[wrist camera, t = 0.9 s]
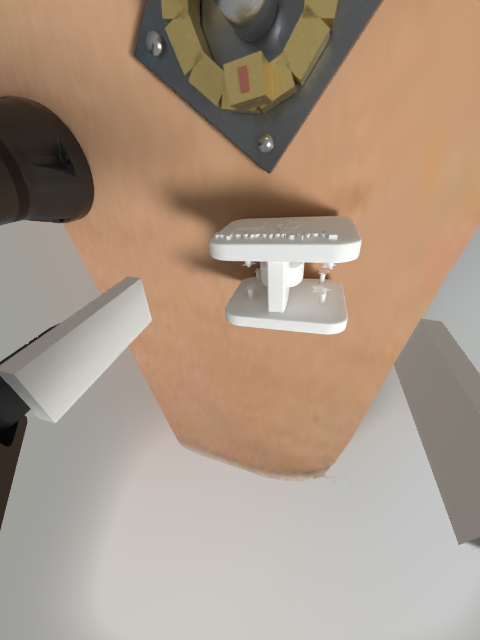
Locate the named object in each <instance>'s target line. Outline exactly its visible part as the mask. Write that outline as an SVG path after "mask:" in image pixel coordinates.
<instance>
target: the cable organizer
mask: <svg viewBox="0 0 480 640" xmlns="http://www.w3.org/2000/svg"><path fill="white" fill-rule="evenodd" d="M361 242H362V238H361V236H360V234H359V232H358V230H357V228H356V225H355V223H354V221H353V219H351V218H348V217H342V216H317V217H284V218H252V219H240V220H236V221H233V222H231V223H229V224H228V225H227V226H226V227H224V228H223V229H222V230H221V231H219V232H216V233H215V234H214V236H213V237H212V238H211V239H209V241H208V243H209V249H210V255H211V257H212V258H214V259H217V260H223V261H245V264H243V265H242V266H245V265H247V266H248V267H250V266H251V265H253V264H257V263H254V262H253V261H260V268H259V269H258V268H255V269H256V271H254V272H256V277H249V278H246V279H244V280H242V281H241V283H240V284H239V286H238V288H237V289H236V291H235V293H234V294H233V296H232V298H231V299H230V301H229V303H228V304H227V306H226V308H225V313H226V319H227V321H228V322H229V323H231V324H233V325H237V326H246V327H256V328H266V329H277V330H287V331H297V332H308V333H318V334H337V333H340V332H342V331H344V329H345V328H346V324H347V319H348V315H347V309H346V303H345V297H344V291H343V285H342V284H341V283H339V282H337V281H334V280H329V279H325V275H327V273H329V272H330V271H327V270H326V267H328V268H330V269H331V270H332V269H333V266H338V265H335V264H334V263H342V262H348V261H352V260H355V259H357V258H358V256H359V251H360V247H361ZM304 262H310V263H323V264H324V266H323V267H322V268H325V269H323V270H320V269H318V270H319V271H320V272H319V273H318V274H320V278H319V279H307V278H303V273H304Z"/></svg>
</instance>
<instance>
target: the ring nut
mask: <svg viewBox="0 0 480 640" xmlns="http://www.w3.org/2000/svg"><path fill="white" fill-rule="evenodd" d="M338 3H339V0H305V3H304V10H303V12H302V14H301V16H300V18H299V20H298V22H297V24H296V26H295V28H294V30H293V32H292V34H291V36H290V38H289V40H288V42H287V44H286V46H285V48H284V50H283V52H282V53H281V54H280V55H279V56H277V57H276V58H275V59H274V60H272V61H271V62H270V63H268V61H267V59H266V57H265V56H264V54H263V52H262V51H258V52H256V53H253V54H250V55H248V56H245V57H242V58H240V59H237V60H234V61H232V62H229V63H226V64H224V65H223V67H224V70H223V69H222V68H221V67H220V66H219V65H218V64H217V63H216V62H214V61H213V59H212V56H211V53H210V51H209V48H208V45H207V42H206V40H205V37H204V34H203V31H202V29H201V26H200V0H161V5H162V17H163V19H164V20H165V21H166V22H167V23H168V25H167V26H166V27H165V30H166V32H167V35H168V37H169V39H170V42H171V44H172V47H173V49H174V51H175V54H176V56H177V59H178V61H179V63H180V66H181V68H182V71H183V73H184V75H185V76H187V77H189V82H190V83H191V84H192V85H193V86H194V87H196V88H197V89H198V90H199V91H200V92H201V93H202V94H203V95H204V96H206V97H207V98H208V99H209V100H210V101H211V102H212V103H213V104H215V105H216V106H217V107H219V108H222V109H224V110H226V111H228V112H237V113H252V114H260V111H261V110H262V111H264V112H265V113H266V112H267V111H269V110H270V109H272V108H273V107H275V106H276V105H278V104H279V103H281V102H282V101H284V100H285V99H287V98H288V97H290V96H291V95H293V94H294V93H296V92H297V89H296V85H295V81H294V79H295V80H296V81H297V82H298V83H299V84H300V85H301V86H302V85H303V84H304V82H305V80H306V79H307V77H308V75H309V74H310V72H311V70H312V69H313V67H314V65H315V64H316V62H317V60H318V59H319V57H320V55H321V54H322V52H323V50H324V48H325V47H326V45H327V43H328V42H329V37H330V31H333V28H334V23H335V18H336V13H337V8H338Z"/></svg>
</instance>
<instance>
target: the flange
mask: <svg viewBox="0 0 480 640" xmlns="http://www.w3.org/2000/svg"><path fill="white" fill-rule="evenodd" d="M382 2H383V0H339V3H338V8H337V13H336V18H335V23H334V28H333V31H330V37H329V42H328V43H327V45H326V47H325V48H324V50H323V52H322V54H321V55H320V57H319V59H318V60H317V62H316V64H315V65H314V67H313V69H312V70H311V72H310V74H309V75H308V77H307V79H306V80H305V82H304V84H303V85H302V86H301V85H300V84H299V83H298V82H297V81H296V80H295V79H294V81H295V85H296V89H297V92H296V93H294V94H293V95H291V96H290V97H288V98H287V99H285V100H284V101H282V102H281V103H279V104H278V105H276V106H275V107H273V108H272V109H270V110H269V111H267V112H266V113H265V112H264V111H262V110H261V111H260V114H252V113H237V112H228V111H226V110H224V109H222V108H219V107H217V106H216V105H215V104H213V103H212V102H211V101H210V100H209V99H208V98H207V97H206V96H204V95H203V94H202V93H201V92H200V91H199V90H198V89H197V88H196V87H194V86H193V85H192V84H191V83H190V82H189V77H187V76H185V75H184V73H183V71H182V68H181V66H180V63H179V61H178V59H177V56H176V54H175V51H174V49H173V47H172V44H171V42H170V39H169V37H168V35H167V32H166V30H165V27H166V26H167V25H168V23H167V22H166V21H165V20H164V19H163V17H162V5H161V0H146V4H145V9H144V13H143V18H142V23H141V27H140V32H139V37H138V41H137V46H136V51H135V55H134V56H136V57H137V58H138V59H139V60H140V61H141V62H142V63H143V64H145V65H146V66H147V67H148V68H149V69H150V70H151V71H153V72H154V73H155V74H156V75H157V76H158V77H159V78H161V79H162V80H163V81H164V82H165V83H166V84H167V85H169V86H170V87H171V88H172V89H173V90H174V91H175V92H177V93H178V94H179V95H180V96H181V97H182V98H183V99H184V100H186V101H187V102H188V103H189V104H190V105H191V106H192V107H194V108H195V109H196V110H197V111H198V112H199V113H200V114H202V115H203V116H204V117H205V118H206V119H207V120H208V121H210V122H211V123H212V124H213V125H214V126H215V127H216V128H218V129H219V130H220V131H221V132H222V133H223V134H224V135H225V136H227V137H228V138H229V139H230V140H231V141H232V142H233V143H235V144H236V145H237V146H238V147H239V148H240V149H241V150H243V151H244V152H245V153H246V154H247V155H248V156H249V157H251V158H252V159H253V160H254V161H255V162H256V163H257V164H259V165H260V166H261V167H262V168H263V169H264V170H265V171H266V172H268V173H269V174H270V173H271V172H272V171H273V169H274V168H275V166H276V165H277V163H278V162H279V160H280V159H281V157H282V156H283V154H284V152H285V151H286V149H287V148H288V146H289V145H290V143H291V142H292V140H293V139H294V137H295V136H296V134H297V132H298V131H299V129H300V128H301V126H302V125H303V123H304V122H305V120H306V119H307V117H308V116H309V114H310V112H311V111H312V109H313V108H314V106H315V105H316V103H317V102H318V100H319V99H320V97H321V96H322V94H323V92H324V91H325V89H326V88H327V86H328V85H329V83H330V82H331V80H332V79H333V77H334V76H335V74H336V72H337V71H338V69H339V68H340V66H341V65H342V63H343V62H344V60H345V59H346V57H347V56H348V54H349V52H350V51H351V49H352V48H353V46H354V45H355V43H356V42H357V40H358V39H359V37H360V36H361V34H362V32H363V31H364V29H365V28H366V26H367V25H368V23H369V22H370V20H371V19H372V17H373V16H374V14H375V12H376V11H377V9H378V8H379V6H380V5H381V3H382ZM304 3H305V0H200V26H201V29H202V31H203V34H204V37H205V40H206V42H207V45H208V48H209V51H210V53H211V56H212V59H213V61H214V62H216V63H217V64H218V65H219V66H220V67H221V68H222V69H223V70H224V67H223V65H224V64H226V63H229V62H232V61H234V60H237V59H240V58H242V57H245V56H248V55H250V54H253V53H256V52H258V51H262V52H263V54H264V56H265V57H266V59H267V61H268V63H270V62H271V61H272V60H274V59H275V58H276V57H277V56H279V55H280V54H281V53H282V52H283V50H284V48H285V46H286V44H287V42H288V40H289V38H290V36H291V34H292V32H293V30H294V28H295V26H296V24H297V22H298V20H299V18H300V16H301V14H302V12H303V10H304Z"/></svg>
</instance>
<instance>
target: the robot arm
mask: <svg viewBox="0 0 480 640" xmlns="http://www.w3.org/2000/svg"><path fill="white" fill-rule="evenodd" d="M93 198H94V185H93V179H92V174H91V171H90V167H89V164H88V162H87V159H86V157H85V155H84V152H83V150H82V149H81V147H80V145H79V143H78V142H77V140H76V138H75V137H74V135H73V134H72V133H71V131H70V130H69V129H68V127H67V126H66V125H65V124H64V123H63V122H62V121H61V120H60V119H59V118H58V117H57V116H56V115H55V114H54V113H53V112H52V111H50V110H49V109H48V108H46V107H45V106H43V105H41V104H39V103H37V102H35V101H32V100H27V99H22V98H16V97H0V225H3V224H7V223H11V222H16V221H20V220H30V221H41V222H42V221H43V222H54V223H68V222H71V221H75V220H78V219H81V218H83V217H84V216H86V215H87V214H88V212H89V211H90V209H91V207H92V203H93ZM151 321H152V319H151V315H150V311H149V307H148V303H147V300H146V296H145V292H144V288H143V284H142V280H141V278H136V277H129V276H128V277H126V278H125V279H124V280H122V281H121V282H119V283H118V284H116V285H115V286H114V287H112V288H111V289H109V290H108V291H106V292H105V293H103V294H102V295H101V296H99V297H98V298H96V299H95V300H93V301H92V302H90V303H89V304H88V305H86V306H85V307H83V308H82V309H80V310H79V311H78V312H76V313H75V314H73V315H72V316H70V317H69V318H67V319H66V320H65V321H63V322H62V323H60V324H58V325H55V326H53V327H51V328H49V329H48V330H46V331H45V332H43V333H42V334H40V335H39V336H38V338H37V337H36V338H34V339H33V340H31V341H30V342H29V344H26V345H24V346H23V347H21V348H20V349H18V350H17V351H16V352H14V353H13V354H11V355H10V356H8V357H7V358H5V359H4V360H2V361H1V362H0V529H1V525H2V520H3V517H4V513H5V509H6V505H7V501H8V497H9V493H10V489H11V485H12V481H13V477H14V473H15V469H16V465H17V461H18V457H19V453H20V449H21V445H22V442H23V438H24V433H25V430H26V426H27V417H26V416H25V414H26V413H27V412H28V411H29V410H30V409H31V410H32V411H33V412H34V414H35V415H36V416H37V417H38V418H40V419H43V420H46V421H49V422H53V423H56V422H57V421H58V420H59V419H60V418H61V417H62V416H63V415H64V413H65V412H66V411H67V410H68V409H69V408H70V407H71V406H72V405H73V404H74V403H75V402H76V401H77V400H78V398H80V396H81V395H82V394H83V393H84V392H85V391H86V390H87V389H88V388H89V387H90V386H91V385H92V384H93V383H94V382H95V381H96V379H97V378H98V377H99V376H100V375H101V374H102V373H103V372H104V371H105V370H106V369H107V368H108V367H109V366H110V364H111V363H112V362H113V361H114V360H115V359H116V358H117V357H118V356H119V355H120V354H121V353H122V352H123V351H124V350H125V348H127V346H128V345H129V344H130V343H131V342H132V341H133V340H134V339H135V338H136V337H137V336H138V335H139V334H140V333H141V332H142V330H143V329H144V328H145V327H146V326H147V325H148V324H149V323H150V322H151ZM394 366H395V369H396V371H397V374H398V377H399V380H400V383H401V385H402V388H403V391H404V394H405V397H406V399H407V402H408V405H409V408H410V411H411V413H412V416H413V419H414V421H415V424H416V427H417V430H418V433H419V435H420V438H421V441H422V444H423V447H424V449H425V452H426V455H427V458H428V460H429V463H430V466H431V469H432V472H433V474H434V477H435V480H436V482H437V485H438V488H439V491H440V494H441V497H442V499H443V502H444V505H445V508H446V510H447V513H448V516H449V519H450V521H451V524H452V527H453V530H454V533H455V535H456V538H457V541H458V544H459V545H461V546H464V547H467V548H471V549H474V550H477V551H480V374H479V373H478V371H477V370H476V368H475V367H474V366H473V364H472V363H471V361H470V360H469V359H468V358H467V356H466V355H465V353H464V352H463V350H462V349H461V348H460V346H459V345H458V344H457V342H456V341H455V339H454V338H453V337H452V335H451V334H450V332H448V330H447V328H446V327H445V325H444V324H443V323H442V322H440V321H432V320H425V319H421V320H420V321H419V323H418V325H417V326H416V328H415V330H414V331H413V333H412V335H411V336H410V338H409V340H408V341H407V343H406V345H405V346H404V348H403V350H402V351H401V353H400V355H399V357H398V358H397V360H396V362H395V363H394Z"/></svg>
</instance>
